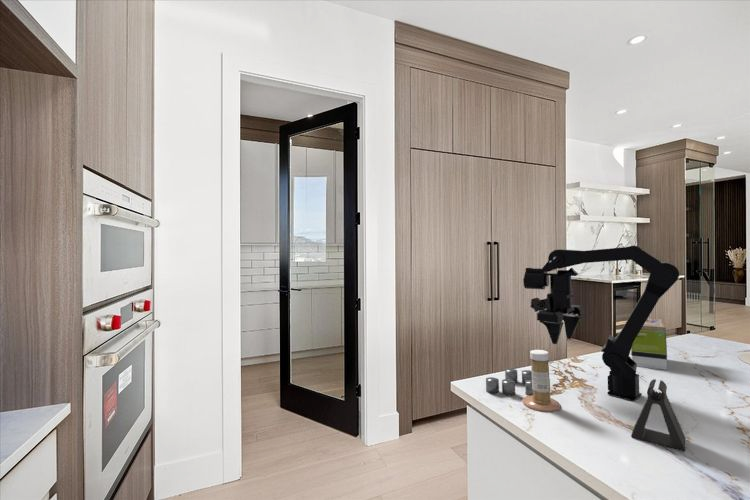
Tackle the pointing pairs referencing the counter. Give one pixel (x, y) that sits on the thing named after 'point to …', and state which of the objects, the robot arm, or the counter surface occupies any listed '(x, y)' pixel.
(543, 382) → the sprinkles bottle
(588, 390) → the counter surface
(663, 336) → the tea box
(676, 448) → the phone stand
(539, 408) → the coaster
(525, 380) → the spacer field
